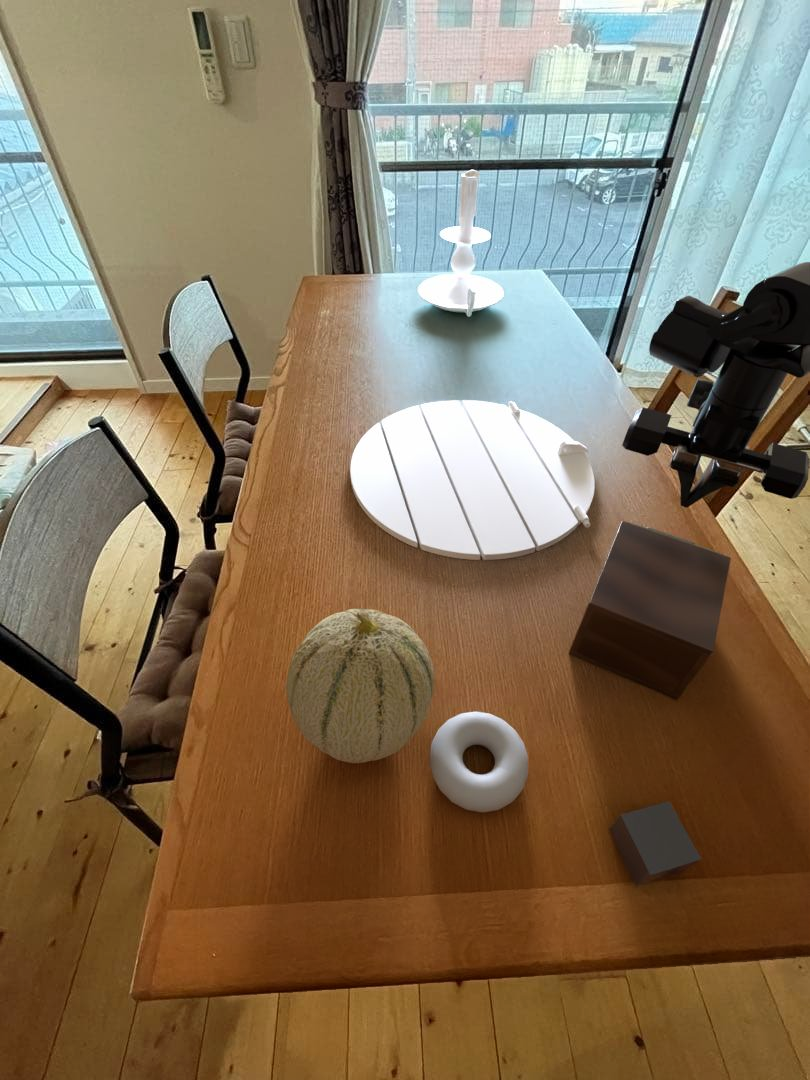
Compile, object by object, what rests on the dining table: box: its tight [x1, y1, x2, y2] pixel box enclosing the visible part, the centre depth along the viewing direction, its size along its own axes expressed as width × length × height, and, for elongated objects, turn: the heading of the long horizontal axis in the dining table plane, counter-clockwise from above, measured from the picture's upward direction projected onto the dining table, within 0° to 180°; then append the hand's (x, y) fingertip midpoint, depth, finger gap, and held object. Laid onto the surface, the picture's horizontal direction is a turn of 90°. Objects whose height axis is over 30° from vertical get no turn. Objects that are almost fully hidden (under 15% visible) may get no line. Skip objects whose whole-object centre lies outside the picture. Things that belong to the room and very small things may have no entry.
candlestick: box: [417, 169, 505, 317], centre depth 124 cm, size 21×25×28 cm
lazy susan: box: [349, 399, 596, 561], centre depth 89 cm, size 40×39×3 cm
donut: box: [429, 711, 529, 813], centre depth 56 cm, size 10×4×10 cm
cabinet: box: [568, 520, 732, 701], centre depth 65 cm, size 15×13×10 cm
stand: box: [608, 800, 702, 887], centre depth 50 cm, size 5×5×4 cm
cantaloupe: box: [285, 608, 435, 764], centre depth 55 cm, size 15×15×15 cm
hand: (684, 504), depth 69 cm, fingers closed
